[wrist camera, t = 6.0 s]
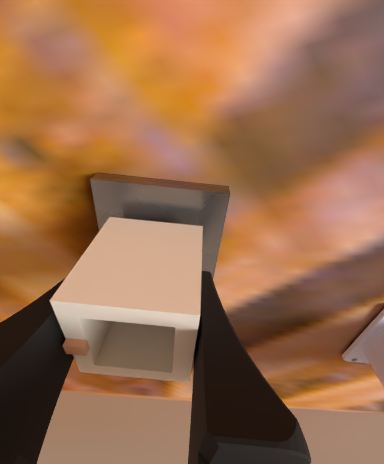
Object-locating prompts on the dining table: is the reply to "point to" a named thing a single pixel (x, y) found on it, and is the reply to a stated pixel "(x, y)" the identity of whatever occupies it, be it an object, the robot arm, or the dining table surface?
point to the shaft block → (164, 206)
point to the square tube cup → (134, 301)
